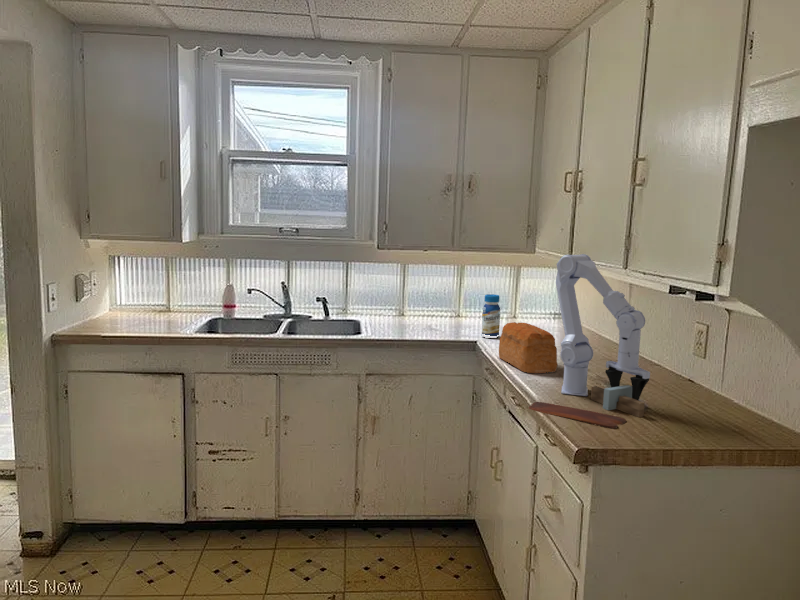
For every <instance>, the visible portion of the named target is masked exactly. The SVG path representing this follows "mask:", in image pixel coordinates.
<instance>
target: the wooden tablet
mask: <svg viewBox="0 0 800 600" xmlns="http://www.w3.org/2000/svg"><path fill="white" fill-rule="evenodd" d="M528 409H529V410H531V411H534V412H538V413H543V414H546V415H551V416H555V417H561V418H564V417H565V419H569V418H570V420H573V419H574V421H577V420H578V422H582V423H586V422H587V423H586V424H590V423H591V424H590V425H594V424H596V425H595V426H598V425H600V426H599V427H602V426H604V428H607V427H608V428H607V429H612V428H614V430H615V429H618V428H617V427H619V426H620V425H623V424H625V423H626V422H627V420H626V418H623V417H620V416H616V415H611V414H606V413H603V412H602V413H601V412H597V411H592V410H588V409H587V410H586V409H582V408H576V407H571V406H566V405H559V404H555V403H549V402H543V401H534V402H533V403H532V404H530V406H528Z"/></svg>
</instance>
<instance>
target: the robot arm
mask: <svg viewBox="0 0 800 600" xmlns="http://www.w3.org/2000/svg"><path fill="white" fill-rule="evenodd" d="M556 270H557V273H556V278H555V286H556V287H555V288H556V291H557V292H556V293H557V297H558V303H559V309H560V314H561V321H562V325H563V326H562V327H563V331H564V338H563V339H562V341H561V342H560V347H561V350H560V359H561V361H562V362H563V366H564V367H563V382H562V383H563V384H561V394H563V395H573V396H583V397H588V395H589V393H588V374H589V372H588V371H589V365H590V361H591V360H593V357H594V349H593V347H592V345H591V344H590V342H589V338H588V337H587V336H586V335H585V334H584V333H583V328H582V322H581V317H580V310H579V306H578V305H579V304H578V300H577V294H576V289H575V285H576V283H578V282H579V279H581V278H582V279H585V280H587V281H588V282H589V284H590V285H592V286H593V288H594V289H595V290H596V291H597V292H598V293H599V294H600V295H601V296H602V297H603V299H602V303H603V305H604V306H605V307H606V309H607V310H608V311H609V312H610V313H611V314H612V316H613V317H614V319H615V321H616V322H615V323H616V326H617V328H618V331H619V332H618V333H619V338H618V350H617V351H618V352H617V361H614V360H606V362H605V368H607V369H605V374H606V376H607V378H608V381H609V385H610V388H611V387H618V386H621V380H622V379H621V378H622V376H623V373H625V374H629V375H632V376H631V377H630V378H629V379H630V383H631V386H632V398H633V399H636V400H639V401H640V398H641V395H642V392H643V390H644V389H645V386H646V385H647V384H648V382H649V381H650V379H651V371H649V370H646V369H643V368H642V367H640V365H639V360H640V357H639V356H640V347H641V345H640V344H641V335H642V334H641V331H642V328H644V326H645V324H646V318H645V315H644V313H643V312H642V311H640V310H638V309H635V307H634V305H632V304H630V303H629V302H628V300H627V299H626V298H625V296H626V295H625V294H624V293H623V292H620V291H618V290H613V288H612V287H611V286H610V284H609V283H608V281H607V280H606V279H605V278H604V276H603V274H602V273H601V272H600V271H599V269H598V267H597V266H596V263H595V261H594V260H592V259H591V257H590V256H589V255H588V254H586V253H582V254H564V255H562V257H560V259H559V260H558V261H557V263H556Z"/></svg>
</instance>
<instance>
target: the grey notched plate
mask: <svg viewBox="0 0 800 600" xmlns="http://www.w3.org/2000/svg"><path fill="white" fill-rule="evenodd" d="M619 396H627V397H630V398H632V385H630V384H625V385H620V386H618V387H611V386H610V387H606V388H604V398H603V404H602V409H603V410H606V411H611V410H617V409H616V405H617V402H618V401H619Z"/></svg>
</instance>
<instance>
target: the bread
mask: <svg viewBox="0 0 800 600" xmlns="http://www.w3.org/2000/svg"><path fill="white" fill-rule="evenodd" d="M557 353H558V350H557V346H556V338H555V336H554V335H553V334H552V333H550V332H549V331H547V330H546V329H543V328H541V327H538V326H536V325H533V324H530V323H527V322H515V321H514V322H507V323H506V324H504V326H503V327H502V331H501V334H500V336H499V343H498V357H499V358H500V360H503V361H504V362H505V363H507V362H508V364H509V363H510V365H512V366H514V367H515V368H517V369H518V370H520V372H521V371H522V372H523V373H525V372H527V373H526V374H546V372H547V374H549V373H548V372H552V373H555V372H556V371H557V369H558V368H557V367H558V354H557Z"/></svg>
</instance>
